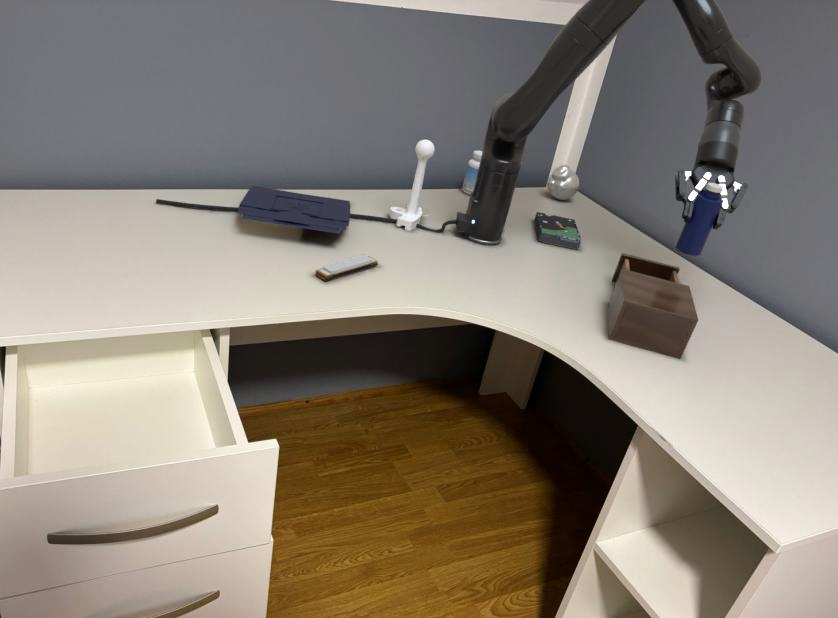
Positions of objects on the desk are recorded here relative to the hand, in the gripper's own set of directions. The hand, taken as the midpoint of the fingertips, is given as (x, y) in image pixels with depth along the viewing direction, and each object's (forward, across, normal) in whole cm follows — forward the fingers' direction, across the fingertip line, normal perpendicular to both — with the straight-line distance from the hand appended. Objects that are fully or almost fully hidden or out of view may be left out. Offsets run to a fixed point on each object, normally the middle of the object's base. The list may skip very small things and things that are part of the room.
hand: (701, 223), depth 139 cm
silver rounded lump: (-28, -26, +57) cm, 69 cm away
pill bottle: (-19, -50, +48) cm, 71 cm away
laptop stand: (+16, -83, +13) cm, 86 cm away
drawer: (+12, -5, +15) cm, 20 cm away
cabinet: (+23, -5, +6) cm, 24 cm away
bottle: (+3, 0, +6) cm, 7 cm away
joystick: (+5, -61, +24) cm, 66 cm away
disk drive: (-7, -25, +36) cm, 44 cm away
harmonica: (+29, -65, -1) cm, 71 cm away
